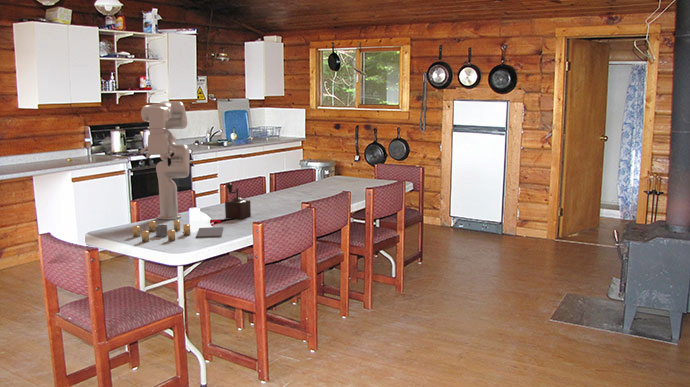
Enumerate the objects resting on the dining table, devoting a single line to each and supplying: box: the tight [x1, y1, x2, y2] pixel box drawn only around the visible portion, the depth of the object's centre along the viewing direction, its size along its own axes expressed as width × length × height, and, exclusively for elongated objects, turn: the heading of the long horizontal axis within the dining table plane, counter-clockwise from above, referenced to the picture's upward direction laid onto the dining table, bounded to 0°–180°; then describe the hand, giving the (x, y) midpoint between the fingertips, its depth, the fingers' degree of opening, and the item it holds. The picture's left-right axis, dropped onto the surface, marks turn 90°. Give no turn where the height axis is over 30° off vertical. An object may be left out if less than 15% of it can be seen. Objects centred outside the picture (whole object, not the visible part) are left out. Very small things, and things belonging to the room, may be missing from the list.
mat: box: [195, 226, 224, 239], centre depth 308 cm, size 18×12×1 cm, turn 8°
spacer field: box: [132, 219, 191, 243], centre depth 302 cm, size 24×27×5 cm
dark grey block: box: [155, 224, 168, 238], centre depth 302 cm, size 6×5×5 cm
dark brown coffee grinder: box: [224, 183, 252, 221], centre depth 344 cm, size 16×11×18 cm
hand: (159, 166), depth 309 cm, fingers open, 9 cm apart
